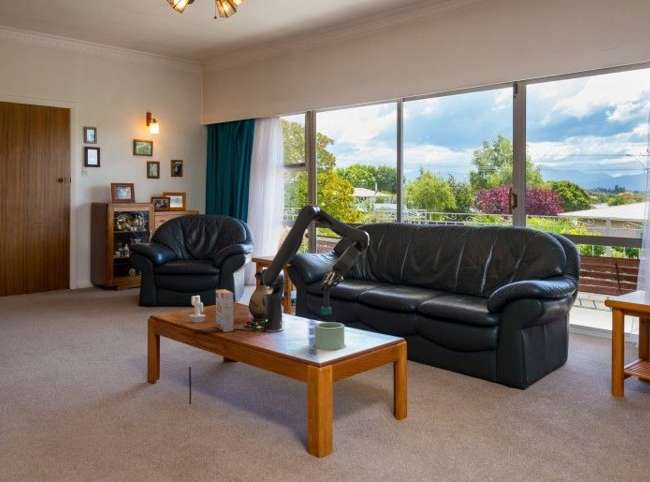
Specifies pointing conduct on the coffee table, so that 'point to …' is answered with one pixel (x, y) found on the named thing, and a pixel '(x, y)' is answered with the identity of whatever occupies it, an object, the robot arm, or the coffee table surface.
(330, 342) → the jar
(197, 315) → the figurine
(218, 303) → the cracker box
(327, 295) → the brush
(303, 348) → the coffee table surface
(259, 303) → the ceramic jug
